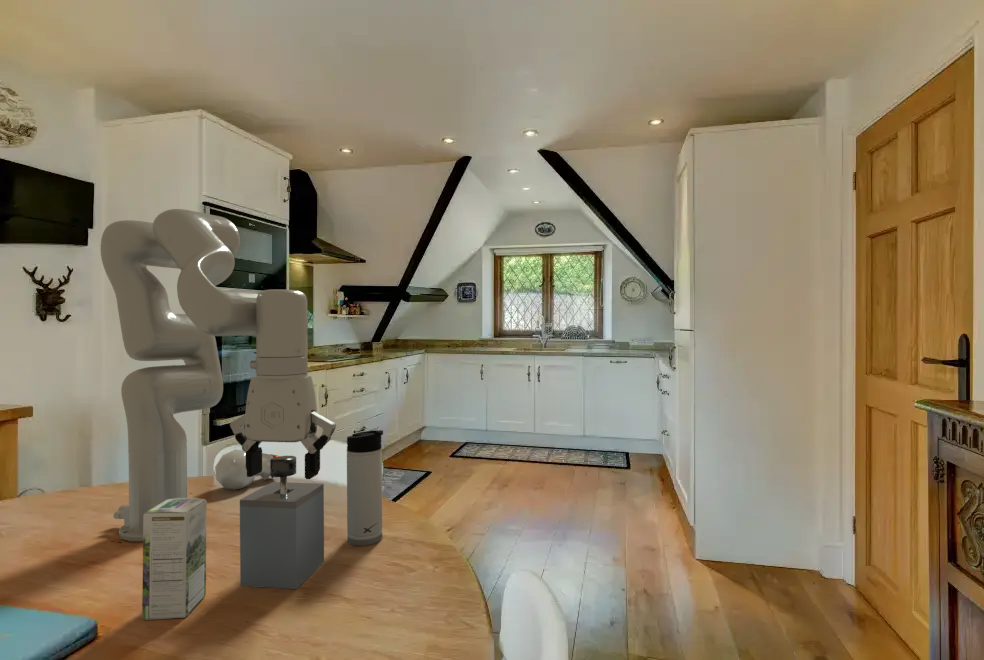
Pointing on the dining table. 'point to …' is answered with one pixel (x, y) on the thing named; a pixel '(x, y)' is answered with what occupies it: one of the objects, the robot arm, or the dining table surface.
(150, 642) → the dining table surface
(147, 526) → the syrup box
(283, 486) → the plunger
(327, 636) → the dining table surface
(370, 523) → the travel mug
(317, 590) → the dining table surface
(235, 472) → the potion bottle
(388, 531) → the dining table surface
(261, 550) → the grey box with hole
